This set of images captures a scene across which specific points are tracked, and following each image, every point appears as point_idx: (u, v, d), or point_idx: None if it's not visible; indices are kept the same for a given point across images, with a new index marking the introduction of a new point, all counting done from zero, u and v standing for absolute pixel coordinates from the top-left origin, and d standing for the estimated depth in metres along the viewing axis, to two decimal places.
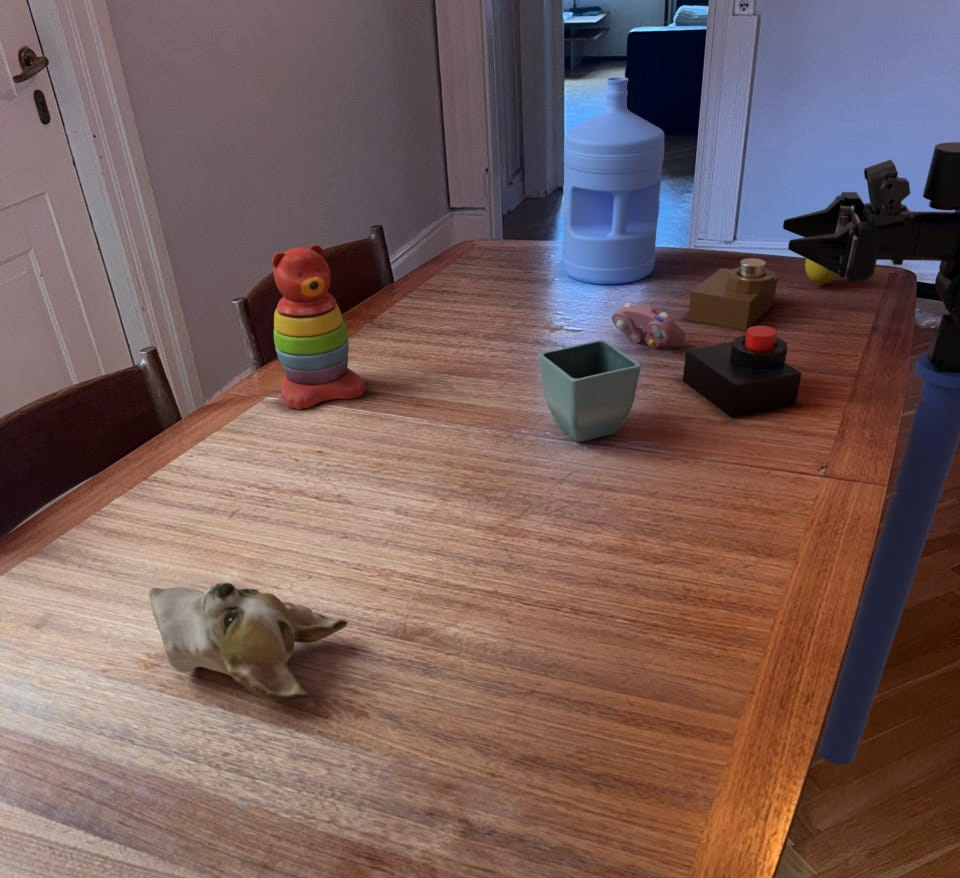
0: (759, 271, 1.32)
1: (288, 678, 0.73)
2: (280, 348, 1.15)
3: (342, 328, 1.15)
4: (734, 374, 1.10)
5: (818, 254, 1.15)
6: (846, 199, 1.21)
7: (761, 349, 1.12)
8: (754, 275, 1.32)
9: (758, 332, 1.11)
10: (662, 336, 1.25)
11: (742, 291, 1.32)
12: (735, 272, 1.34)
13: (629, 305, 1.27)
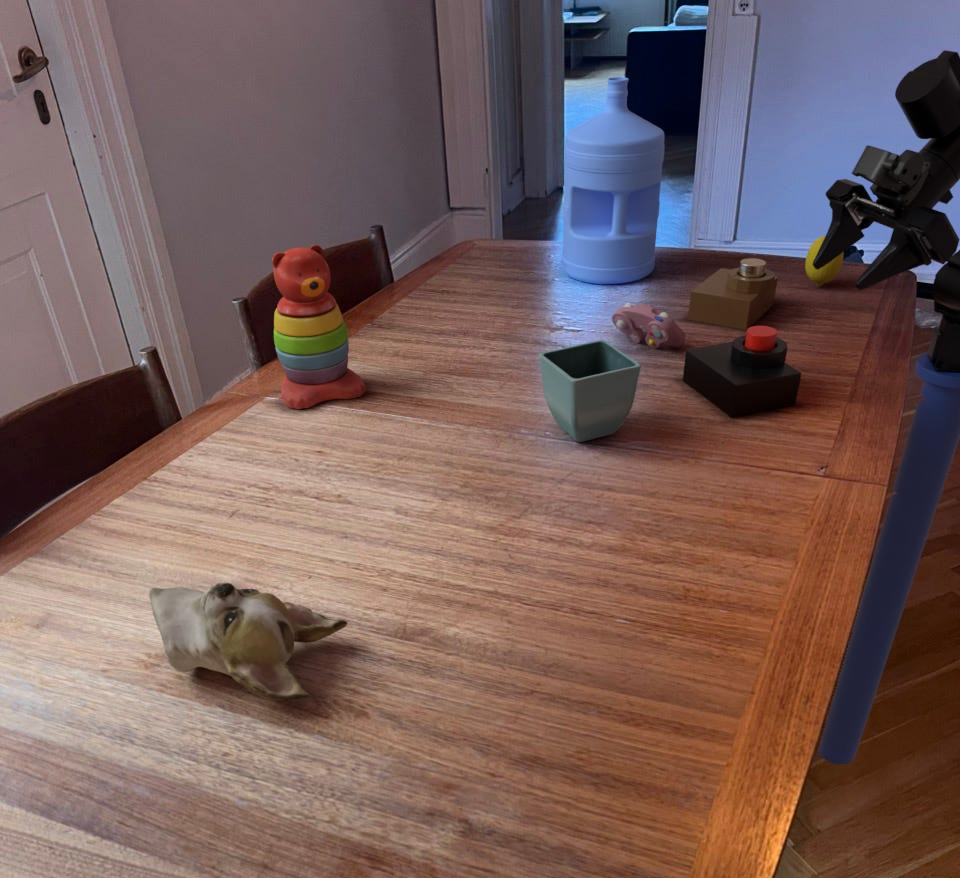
0: (759, 271, 1.32)
1: (288, 678, 0.73)
2: (280, 348, 1.15)
3: (342, 328, 1.15)
4: (734, 374, 1.10)
5: (890, 269, 1.07)
6: (842, 197, 1.12)
7: (761, 349, 1.12)
8: (754, 275, 1.32)
9: (758, 332, 1.11)
10: (662, 336, 1.25)
11: (742, 291, 1.32)
12: (735, 272, 1.34)
13: (629, 305, 1.27)
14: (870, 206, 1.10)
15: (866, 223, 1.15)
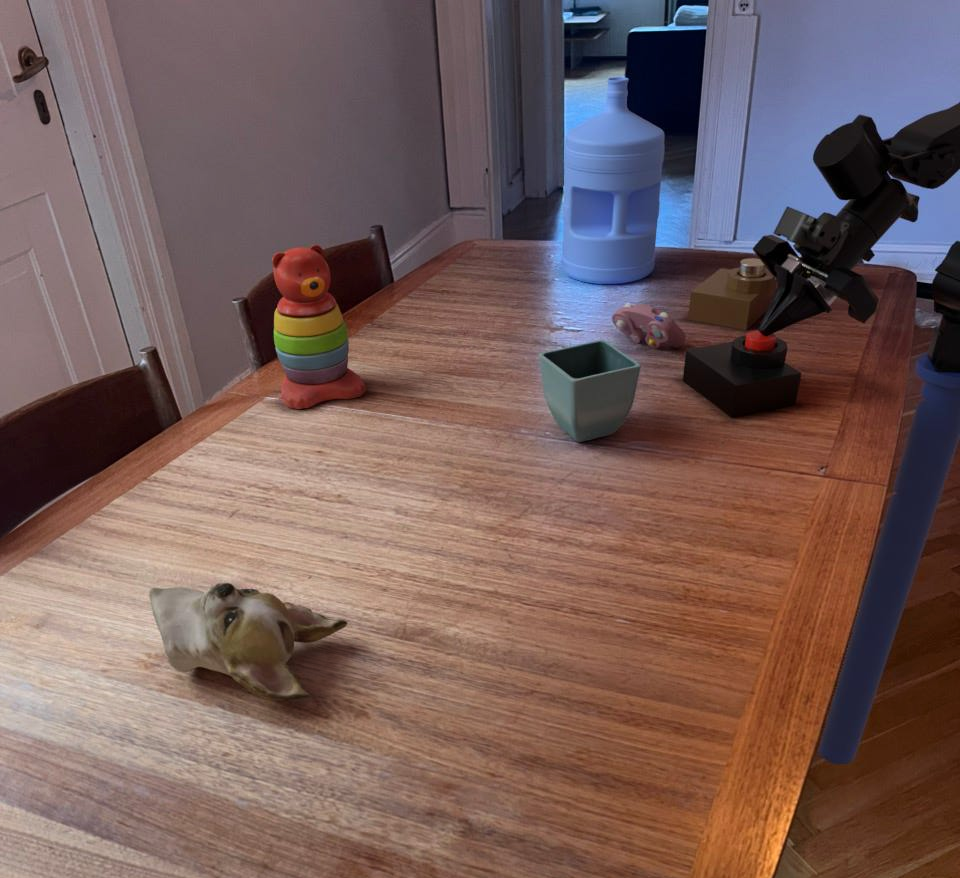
0: (759, 271, 1.32)
1: (288, 678, 0.73)
2: (280, 348, 1.15)
3: (342, 328, 1.15)
4: (734, 374, 1.10)
5: (793, 317, 1.11)
6: (768, 254, 1.13)
7: None
8: (754, 275, 1.32)
9: (757, 337, 1.12)
10: (662, 336, 1.25)
11: (742, 291, 1.32)
12: (735, 272, 1.34)
13: (629, 305, 1.27)
14: None
15: None
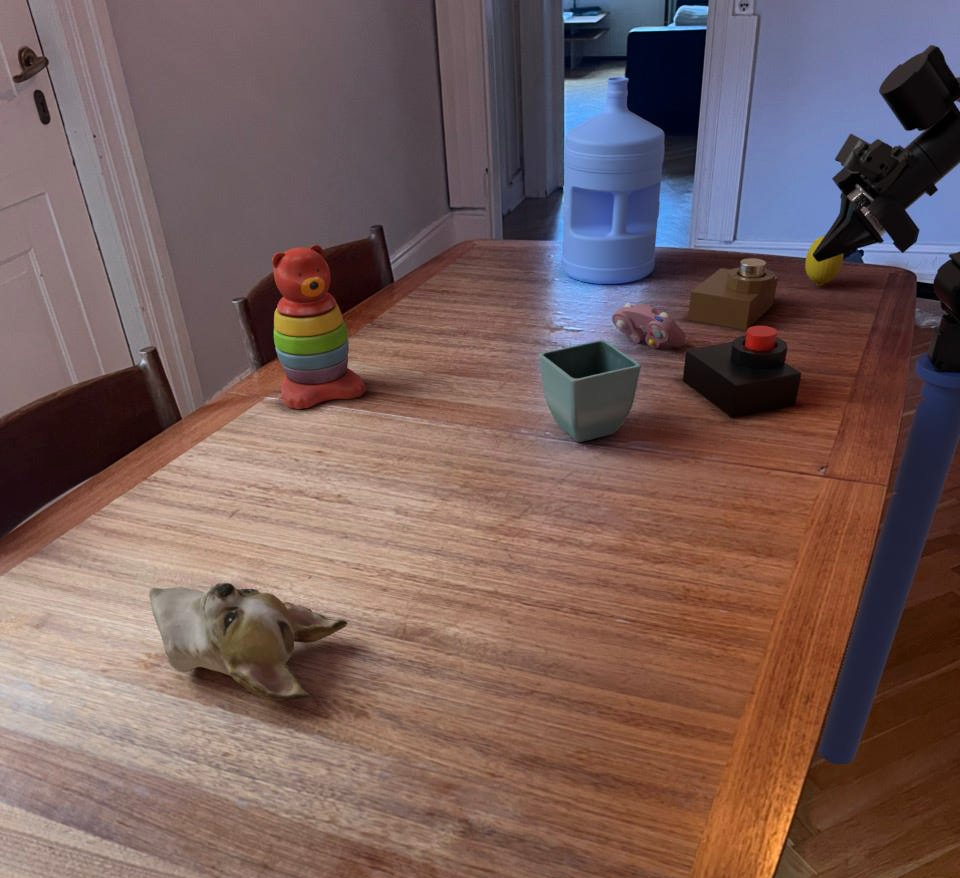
0: (759, 271, 1.32)
1: (288, 678, 0.73)
2: (280, 348, 1.15)
3: (342, 328, 1.15)
4: (734, 374, 1.10)
5: (846, 244, 1.15)
6: (841, 183, 1.17)
7: (761, 349, 1.12)
8: (754, 275, 1.32)
9: (758, 332, 1.11)
10: (662, 336, 1.25)
11: (742, 291, 1.32)
12: (735, 272, 1.34)
13: (629, 305, 1.27)
14: None
15: None
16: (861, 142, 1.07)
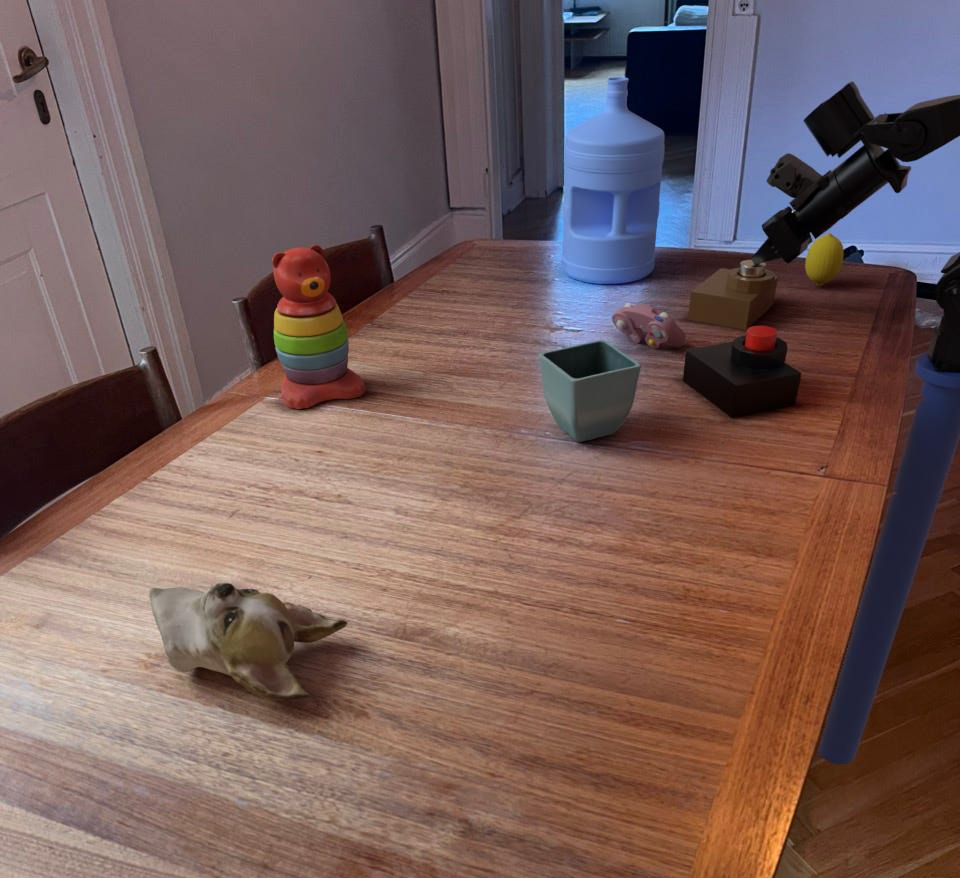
0: (759, 273, 1.32)
1: (288, 678, 0.73)
2: (280, 348, 1.15)
3: (342, 328, 1.15)
4: (734, 374, 1.10)
5: (773, 252, 1.29)
6: None
7: (761, 349, 1.12)
8: (754, 276, 1.32)
9: (758, 332, 1.11)
10: (662, 336, 1.25)
11: (742, 291, 1.32)
12: (735, 272, 1.34)
13: (629, 305, 1.27)
14: None
15: None
16: (779, 161, 1.21)
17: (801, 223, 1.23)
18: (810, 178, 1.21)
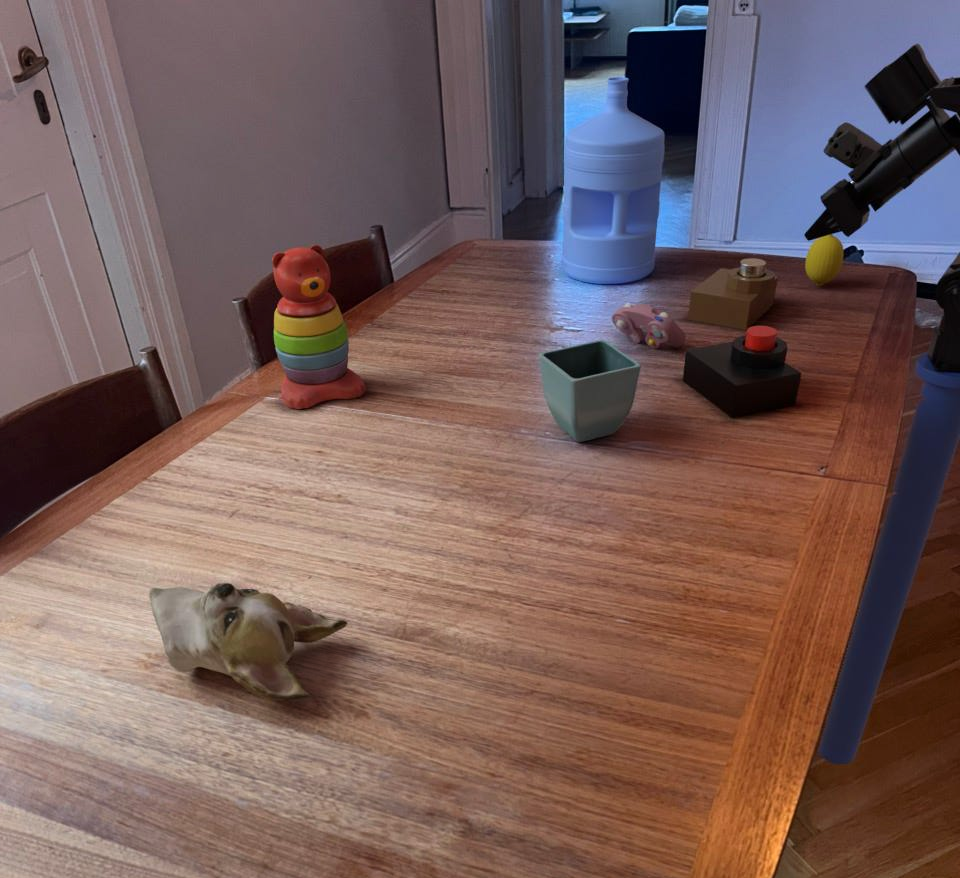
0: (759, 271, 1.32)
1: (288, 678, 0.73)
2: (280, 348, 1.15)
3: (342, 328, 1.15)
4: (734, 374, 1.10)
5: (829, 226, 1.23)
6: None
7: (761, 349, 1.12)
8: (754, 275, 1.32)
9: (758, 332, 1.11)
10: (662, 336, 1.25)
11: (742, 291, 1.32)
12: (735, 272, 1.34)
13: (629, 305, 1.27)
14: None
15: None
16: (837, 130, 1.16)
17: (860, 195, 1.17)
18: (870, 147, 1.16)
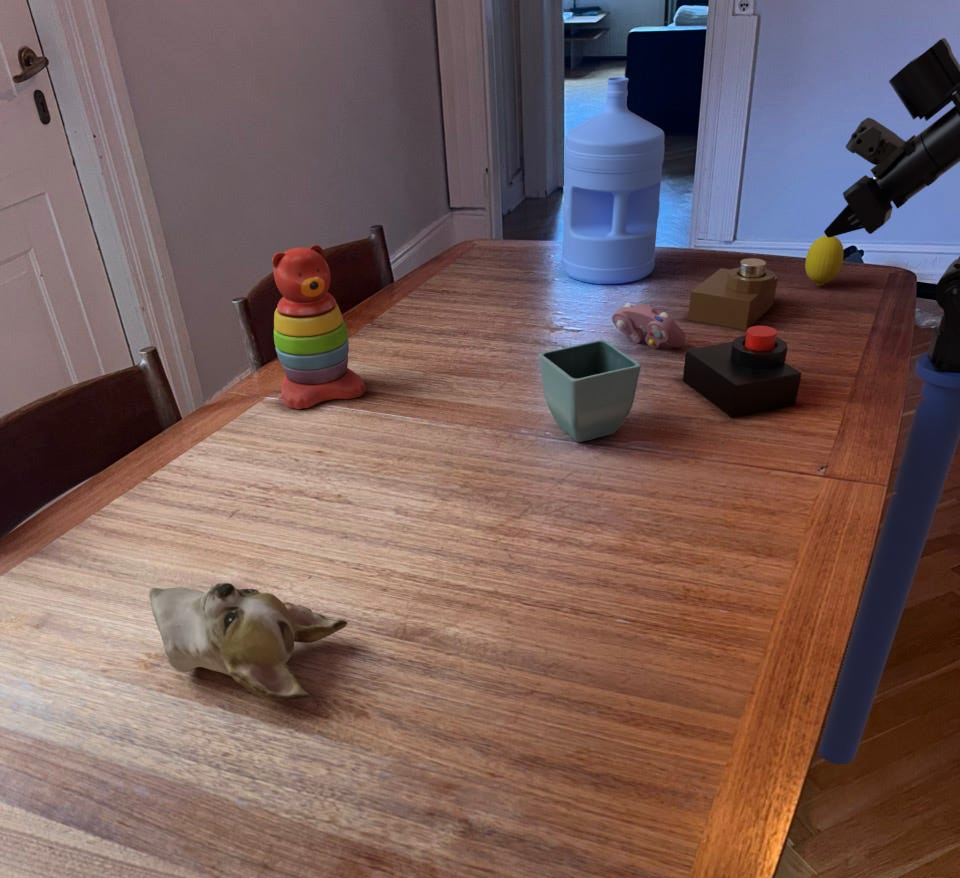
0: (759, 271, 1.32)
1: (288, 678, 0.73)
2: (280, 348, 1.15)
3: (342, 328, 1.15)
4: (734, 374, 1.10)
5: (850, 223, 1.22)
6: None
7: (761, 349, 1.12)
8: (754, 275, 1.32)
9: (758, 332, 1.11)
10: (662, 336, 1.25)
11: (742, 291, 1.32)
12: (735, 272, 1.34)
13: (629, 305, 1.27)
14: None
15: None
16: (861, 125, 1.14)
17: (883, 191, 1.16)
18: (894, 143, 1.14)
